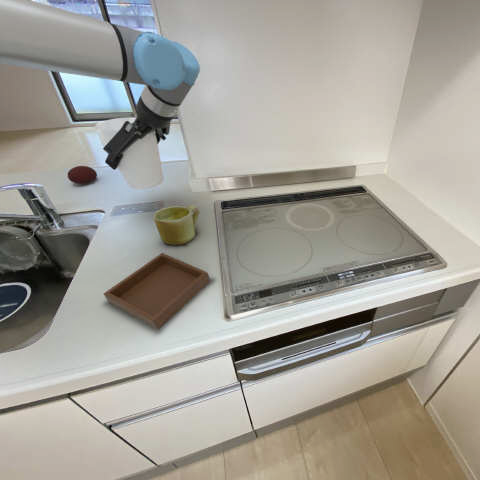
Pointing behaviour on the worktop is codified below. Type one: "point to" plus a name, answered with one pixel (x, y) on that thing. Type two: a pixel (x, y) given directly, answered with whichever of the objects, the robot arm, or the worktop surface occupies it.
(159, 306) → the tray
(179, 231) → the mug
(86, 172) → the dark red rounded lump
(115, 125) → the cup
